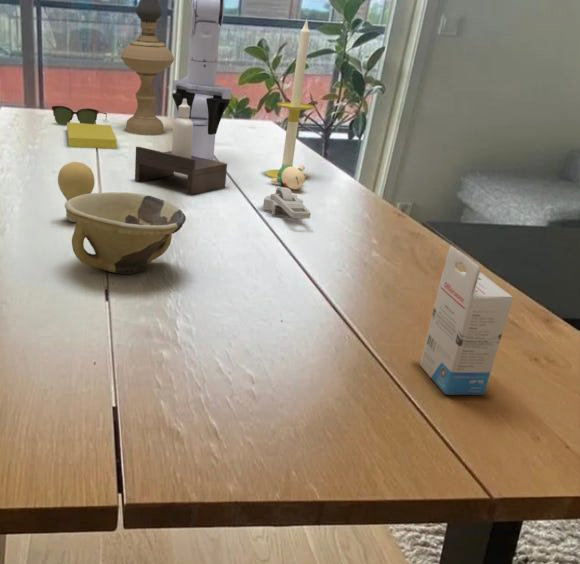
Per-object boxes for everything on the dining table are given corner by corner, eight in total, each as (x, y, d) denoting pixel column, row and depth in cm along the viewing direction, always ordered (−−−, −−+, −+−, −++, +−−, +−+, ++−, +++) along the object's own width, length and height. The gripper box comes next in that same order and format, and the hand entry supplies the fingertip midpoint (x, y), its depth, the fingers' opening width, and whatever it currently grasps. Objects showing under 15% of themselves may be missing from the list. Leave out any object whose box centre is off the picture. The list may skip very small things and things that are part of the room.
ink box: (485, 396, 88) (525, 269, 79) (443, 396, 87) (479, 268, 79) (456, 365, 95) (490, 245, 87) (417, 364, 94) (448, 243, 86)
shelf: (169, 174, 177) (171, 141, 173) (225, 187, 169) (228, 153, 165) (134, 180, 169) (135, 146, 165) (190, 195, 161) (193, 159, 157)
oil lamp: (117, 125, 229) (120, -35, 207) (167, 128, 231) (175, -31, 209) (120, 134, 216) (123, -36, 194) (172, 137, 218) (181, -31, 196)
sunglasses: (50, 124, 224) (50, 105, 222) (65, 121, 237) (65, 103, 235) (98, 128, 223) (99, 109, 220) (110, 125, 236) (111, 107, 233)
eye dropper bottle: (191, 158, 168) (195, 97, 162) (190, 163, 164) (194, 101, 157) (171, 156, 168) (175, 96, 162) (170, 161, 164) (173, 99, 157)
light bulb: (100, 220, 140) (101, 162, 135) (82, 227, 135) (82, 167, 130) (70, 214, 142) (69, 157, 137) (52, 221, 137) (50, 162, 132)
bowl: (93, 294, 108) (93, 225, 103) (49, 255, 121) (47, 193, 116) (202, 281, 115) (207, 216, 110) (150, 247, 128) (152, 187, 123)
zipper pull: (279, 229, 142) (282, 205, 140) (258, 205, 157) (261, 183, 155) (320, 230, 143) (323, 207, 141) (296, 206, 158) (299, 184, 156)
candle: (259, 176, 181) (278, 16, 163) (271, 169, 189) (290, 15, 171) (300, 182, 178) (324, 20, 160) (311, 174, 186) (334, 19, 168)
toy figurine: (270, 190, 179) (283, 199, 168) (264, 171, 176) (277, 179, 166) (303, 175, 178) (318, 183, 168) (297, 156, 176) (312, 163, 165)
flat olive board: (116, 148, 199) (110, 132, 219) (116, 139, 198) (110, 124, 217) (69, 146, 197) (67, 130, 217) (69, 137, 196) (66, 122, 216)
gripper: (164, 57, 161) (161, 127, 168) (219, 65, 153) (213, 138, 161) (185, 56, 165) (181, 124, 173) (240, 64, 158) (233, 135, 165)
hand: (198, 131), depth 167 cm, fingers open, 7 cm apart
